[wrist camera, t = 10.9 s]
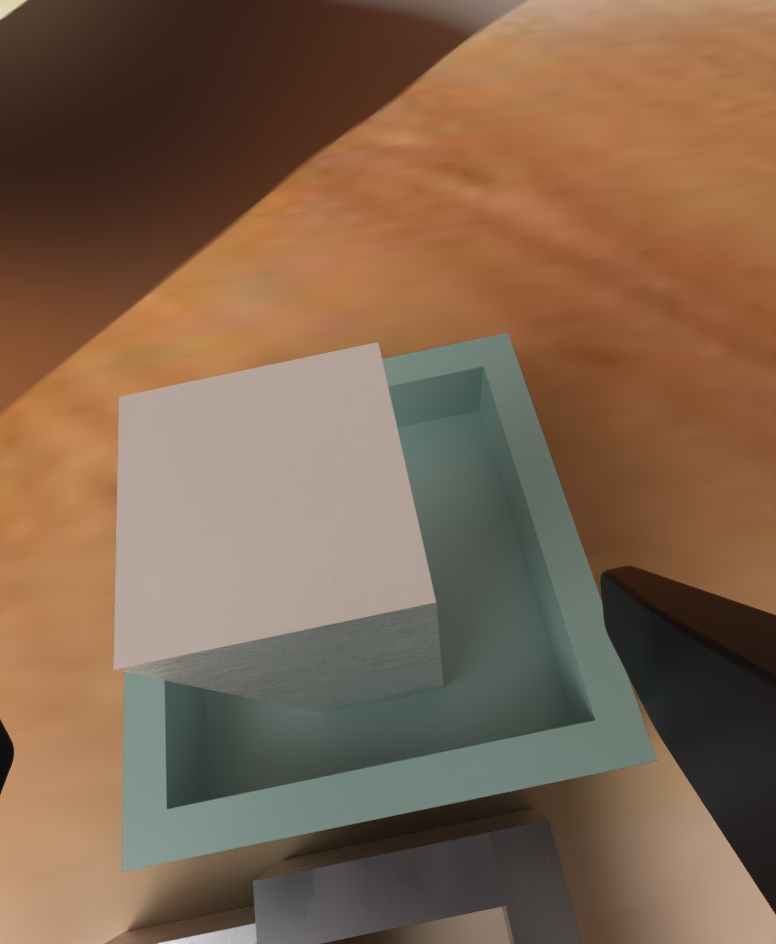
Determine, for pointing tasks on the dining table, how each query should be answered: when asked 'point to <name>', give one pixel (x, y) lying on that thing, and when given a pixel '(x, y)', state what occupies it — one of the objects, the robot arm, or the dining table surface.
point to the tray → (461, 646)
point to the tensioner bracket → (398, 889)
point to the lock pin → (273, 538)
